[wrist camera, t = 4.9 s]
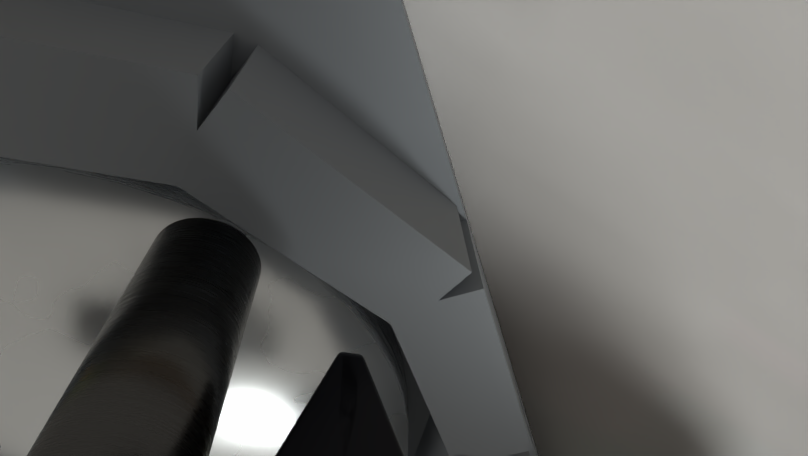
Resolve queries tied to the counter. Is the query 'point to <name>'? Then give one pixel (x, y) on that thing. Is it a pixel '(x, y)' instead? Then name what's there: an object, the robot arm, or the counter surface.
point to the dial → (160, 324)
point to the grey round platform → (285, 164)
